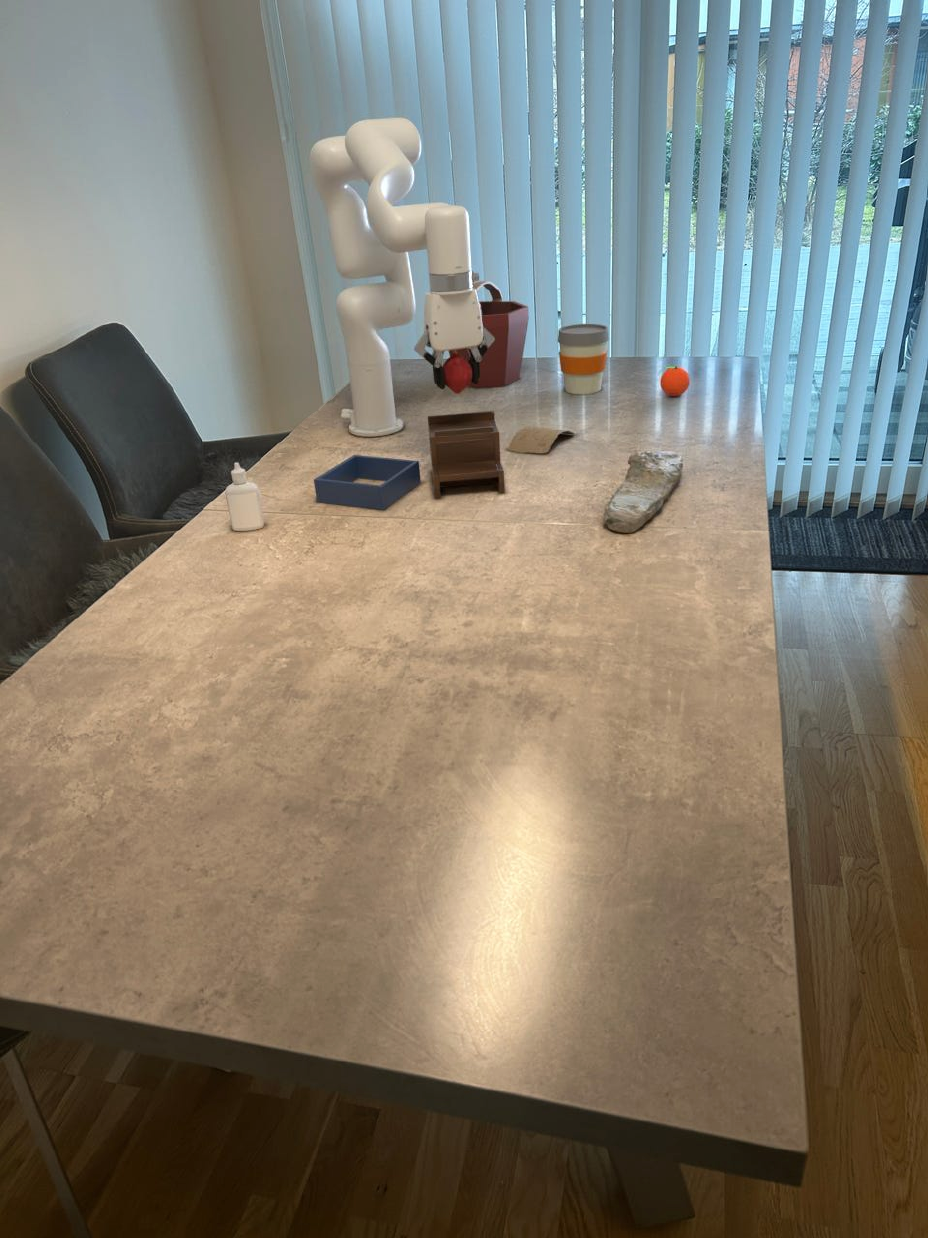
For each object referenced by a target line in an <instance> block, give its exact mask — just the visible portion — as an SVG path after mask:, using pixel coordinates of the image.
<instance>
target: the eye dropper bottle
mask: <svg viewBox="0 0 928 1238" xmlns="http://www.w3.org/2000/svg"><path fill="white" fill-rule="evenodd" d="M233 466H234V467H233V469H232V470H231V471H230V474H231V479H232V483H230V484H229V485H228V486H227V487H226V488H225V491H224V493H225V499H226V504H227V510H228V515H229V519H230V523H231V524H230V525H231V528H232V530H233V531H235V532H249V531H250V532H251V531H256V530H259V529H263V528H264V526H265V518H264V512H263V506H262V502H261V496H260V489H259V486H258V485H257V484H256V483H254V482H252V481H248V478H247V473H246V469H245V468H242V467H241V466H240V463H239V462H234V465H233Z"/></svg>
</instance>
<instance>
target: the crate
mask: <svg viewBox="0 0 928 1238" xmlns="http://www.w3.org/2000/svg"><path fill="white" fill-rule="evenodd" d="M358 479H365V480H375V481H384V482H383V483H381V484H379V485H378V484H373V483H372V484H371V483H363V482H362V483H361V482H354V481H356V480H358ZM421 479H422V478H421V469H420V461H419V460H412V459H403V458H402V459H401V458H390V457H380V456H370V455H361V454H353V455H351V456H350V457H348V458H347V459H345V460H343V461H342V462H340V463H338V464H337V465H335V466H334V467H332V468H330V469H328V470H327V471H325V472H324V473H322V474H321V475H319V476H317V477H316V478H314V479H313V484H314V490H315V496H316V497H315V498H316V502H317V503H323V504H331V505H339V506H347V507H353V508H354V507H355V508H363V509H370V510H378V511H379V510H380V511H385V510H387V509H388V508H390V507H391V506H392V505H393V504H395V503H397V501H399V500H400V499H402V498H403V497H404V496H406V495H407V494H408V493H409V492H410V491H412V490H414V489H415V488H416V487H418V486H419V485H420V484H421V483H422V480H421Z"/></svg>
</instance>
